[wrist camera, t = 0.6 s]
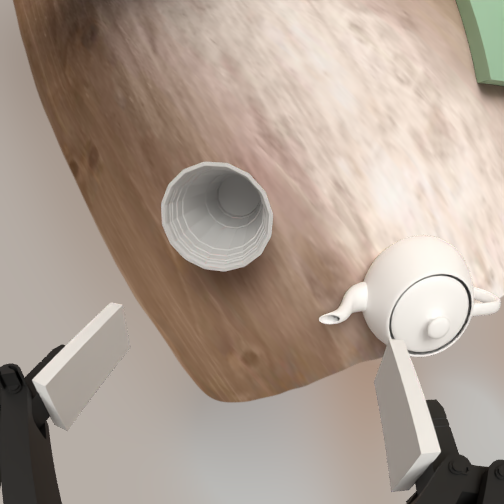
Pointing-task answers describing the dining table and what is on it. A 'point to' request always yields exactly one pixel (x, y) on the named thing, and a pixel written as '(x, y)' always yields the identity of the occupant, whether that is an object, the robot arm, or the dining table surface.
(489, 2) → the putting board
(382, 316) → the teapot
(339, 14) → the dining table surface
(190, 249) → the plastic cup
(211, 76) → the dining table surface
